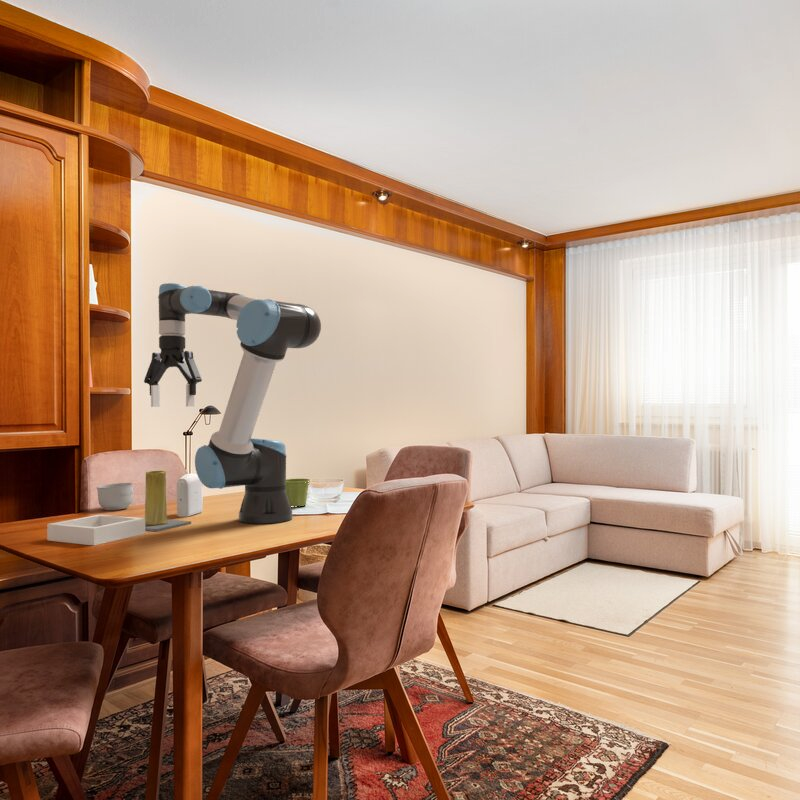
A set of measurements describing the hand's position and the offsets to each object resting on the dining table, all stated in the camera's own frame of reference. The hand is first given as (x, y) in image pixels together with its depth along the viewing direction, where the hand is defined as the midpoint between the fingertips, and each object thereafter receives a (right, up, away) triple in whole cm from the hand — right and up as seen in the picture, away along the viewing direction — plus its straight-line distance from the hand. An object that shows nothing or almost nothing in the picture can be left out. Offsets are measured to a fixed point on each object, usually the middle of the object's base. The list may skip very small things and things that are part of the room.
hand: (172, 406), depth 205 cm
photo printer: (+5, -33, +2) cm, 33 cm away
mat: (+1, -33, -17) cm, 37 cm away
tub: (-8, -33, -33) cm, 47 cm away
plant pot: (+35, -33, +17) cm, 51 cm away
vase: (+1, -32, -17) cm, 36 cm away
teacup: (-23, -33, +16) cm, 44 cm away
